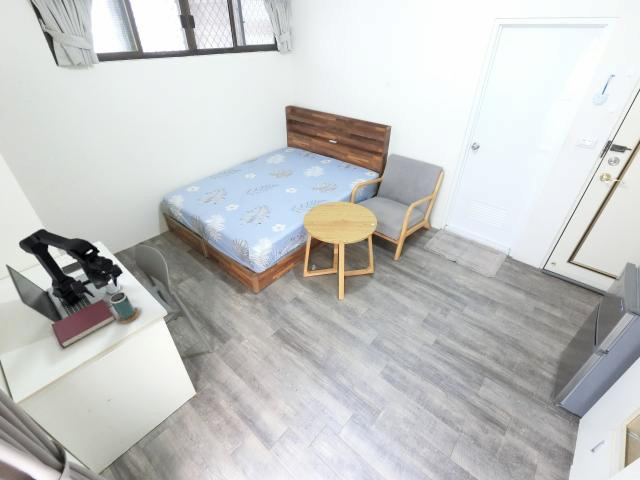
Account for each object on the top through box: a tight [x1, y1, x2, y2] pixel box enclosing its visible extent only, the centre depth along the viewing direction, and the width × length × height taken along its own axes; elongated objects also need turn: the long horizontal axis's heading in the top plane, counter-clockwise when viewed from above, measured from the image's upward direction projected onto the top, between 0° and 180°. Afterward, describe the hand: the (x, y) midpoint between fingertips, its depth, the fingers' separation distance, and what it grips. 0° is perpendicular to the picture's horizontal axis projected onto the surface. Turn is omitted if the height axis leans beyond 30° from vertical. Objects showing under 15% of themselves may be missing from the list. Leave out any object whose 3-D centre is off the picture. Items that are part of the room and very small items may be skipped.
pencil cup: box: [109, 291, 136, 320], centre depth 140 cm, size 13×7×13 cm
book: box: [51, 298, 117, 349], centre depth 139 cm, size 15×21×3 cm
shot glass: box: [103, 279, 121, 295], centre depth 155 cm, size 7×7×7 cm
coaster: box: [117, 307, 140, 324], centre depth 144 cm, size 9×9×1 cm
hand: (105, 291), depth 139 cm, fingers open, 9 cm apart
